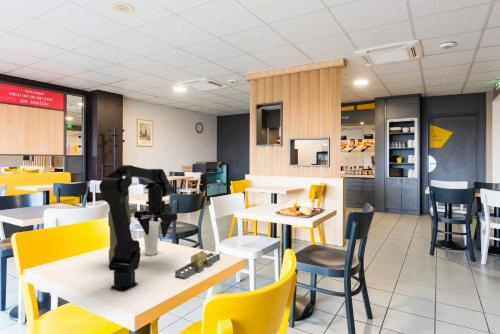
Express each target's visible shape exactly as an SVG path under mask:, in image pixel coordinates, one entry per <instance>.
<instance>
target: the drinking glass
mask: <svg viewBox="0 0 500 334" xmlns="http://www.w3.org/2000/svg"><path fill="white" fill-rule="evenodd" d="M143 241H144V252H145V255H146V256H155V255H157V254H158V243H159V242H158V241H159V222H158V221H155V220H154V221H151V220H150V221H149V235H146V233H145V232H144V230H143Z"/></svg>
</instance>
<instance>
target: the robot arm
mask: <svg viewBox="0 0 500 334" xmlns="http://www.w3.org/2000/svg"><path fill="white" fill-rule="evenodd" d="M122 177H124V178H122ZM133 178H137V179H141V180H142V179H143V181H144V182H147V185H145V187H144V189H146V190H147V201H145V205H147V207H148V209H141V210H140V209H139V210H135V212H134V214H133V215H134V216H133V217H134V219H136V221H137V222H138V223H139V224H140V226H141V228H142V229H143V230H144V231H143V233H144V232H145V233H146V235H149V222H150V221H151V219H152V218H156V219H160V220H161V221H160V222H159V223H160V228H161V235H162V238H166V237H167V234H168V231H169V228H170V226H171V224H172V223H174V222H175V221H176V220H178V214H177V213H176V212H174V211H173V206H172V205H169V204H166V202H165V200H163V198H164V197H169V196H171V195H173V193H174V191H175V190H174V187H173V185H172V184H171V183H170V180H168V178H167V175H166V173H165V171H164V169H162V168H143V167H139V166H134V165H131V164H121V165H119V166H118V167H117V168H116V169H115V170H114V171H112V172H110V173H108V174H107V175H106V176H105V177H104V178H103V179H102V180H101V181H100V183H99V192H100V194H101V196H102V199H103V200H104V201H105V202H106V203H107V204H108V205H109V209H110V211H111V216H112V220H113V225H114V230H115V235H116V239H117V244H116V246H115V248H114V256H113V258H112V260H111V262H109V264H108V270H109V271H113V285H112V286H110V289H114V290H116V291H120V292H125V291H127V290H130V289H131V288H133V287H136V286H138V284H139V283H138V282H136V270H138V269H139V268H140V262H141V261H140V260H141V251H142V249H141V247H140V241H139V240H137V239H135V240H134V239H133V237H132V231H131V225H130V226H129V221H128V216H127V210H126V205H125V200H126V197H127V195H128V189H129V188H130V187H131V185H132V184H133ZM120 263H124V264H129V265H120Z"/></svg>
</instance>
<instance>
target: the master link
mask: <svg viewBox="0 0 500 334" xmlns="http://www.w3.org/2000/svg"><path fill="white" fill-rule="evenodd" d="M207 254H208V253H207V252H204V251H203V250H201V251H199V252H197V253H194V254H193V255H191V256H190V263H191V267H195V266H197V267H199V266H201V265H204V268H205V267H206V268H207Z"/></svg>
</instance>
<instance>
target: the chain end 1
mask: <svg viewBox="0 0 500 334" xmlns="http://www.w3.org/2000/svg"><path fill="white" fill-rule="evenodd" d="M204 268H205V267H204V265H201V266H199V267H197V266H195V267H191V262H189V263H188V264H185V265H184V266H182V267H180V268H179V269H176V270H175V271H174V277H175V278H183V280H186V279H188V278H190V277H191V276H193V275H195V274H196V273H198V274H199V273H202V272H203V271H204Z"/></svg>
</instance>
